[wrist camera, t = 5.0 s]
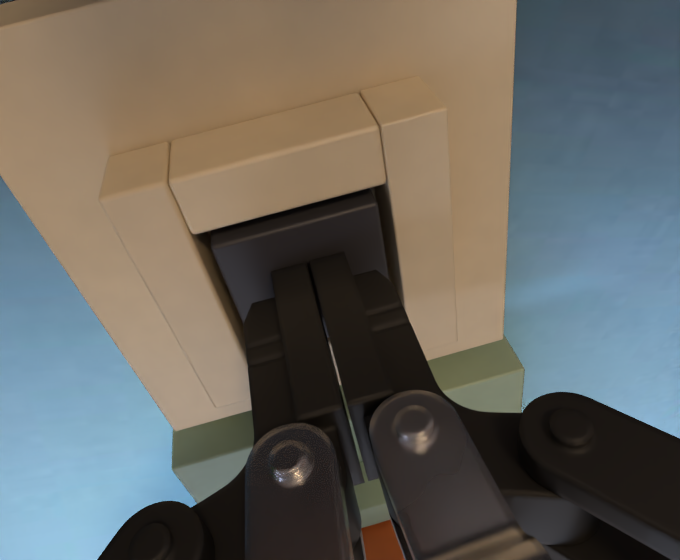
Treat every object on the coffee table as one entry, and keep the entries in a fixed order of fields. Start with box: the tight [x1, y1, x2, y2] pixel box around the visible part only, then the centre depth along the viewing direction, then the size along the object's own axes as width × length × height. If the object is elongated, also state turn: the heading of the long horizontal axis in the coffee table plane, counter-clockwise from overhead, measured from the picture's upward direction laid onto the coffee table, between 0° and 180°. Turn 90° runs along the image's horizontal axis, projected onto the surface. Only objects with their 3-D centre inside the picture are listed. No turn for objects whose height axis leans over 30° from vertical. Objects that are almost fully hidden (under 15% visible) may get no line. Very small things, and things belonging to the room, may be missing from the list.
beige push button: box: [0, 0, 517, 431], centre depth 12 cm, size 11×10×4 cm
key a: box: [210, 188, 389, 338], centre depth 12 cm, size 3×3×2 cm
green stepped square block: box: [172, 334, 525, 528], centre depth 20 cm, size 11×11×4 cm
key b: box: [361, 520, 405, 560], centre depth 18 cm, size 3×3×2 cm
